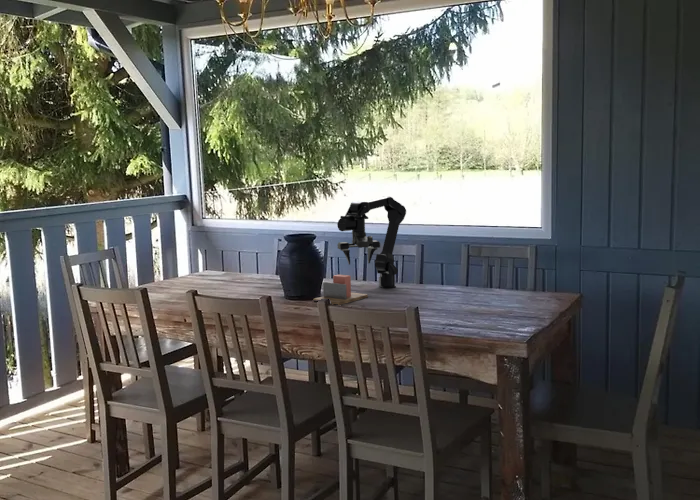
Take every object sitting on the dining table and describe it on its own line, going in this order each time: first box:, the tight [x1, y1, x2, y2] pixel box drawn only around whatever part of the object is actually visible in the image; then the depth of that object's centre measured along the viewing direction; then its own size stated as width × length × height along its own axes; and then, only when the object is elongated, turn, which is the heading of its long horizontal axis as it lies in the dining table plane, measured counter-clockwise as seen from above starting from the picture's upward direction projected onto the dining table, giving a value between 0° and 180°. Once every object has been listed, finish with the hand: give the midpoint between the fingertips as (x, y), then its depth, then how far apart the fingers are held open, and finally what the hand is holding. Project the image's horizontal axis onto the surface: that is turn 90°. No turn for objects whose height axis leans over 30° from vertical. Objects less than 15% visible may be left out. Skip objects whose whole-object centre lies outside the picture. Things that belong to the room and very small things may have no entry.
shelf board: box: [312, 291, 369, 306], centre depth 303 cm, size 20×14×1 cm
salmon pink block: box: [332, 274, 352, 297], centre depth 303 cm, size 4×6×9 cm, turn 52°
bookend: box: [322, 281, 347, 300], centre depth 300 cm, size 1×12×6 cm, turn 52°
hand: (359, 263), depth 317 cm, fingers open, 9 cm apart
